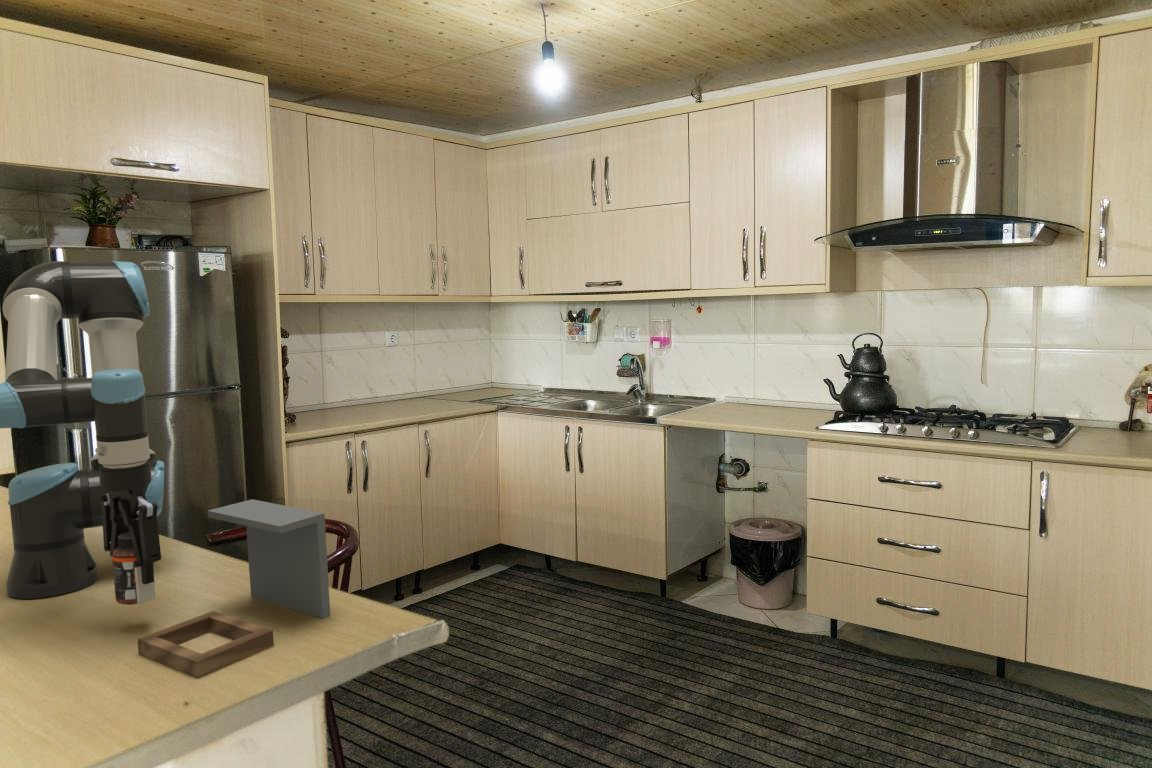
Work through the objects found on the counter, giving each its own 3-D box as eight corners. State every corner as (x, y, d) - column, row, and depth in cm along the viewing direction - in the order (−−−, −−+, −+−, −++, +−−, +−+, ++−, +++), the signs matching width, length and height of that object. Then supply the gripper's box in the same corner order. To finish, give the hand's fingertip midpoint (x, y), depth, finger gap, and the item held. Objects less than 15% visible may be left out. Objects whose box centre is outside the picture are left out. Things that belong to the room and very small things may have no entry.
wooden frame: (138, 653, 129) (137, 638, 128) (214, 625, 139) (213, 610, 139) (198, 678, 120) (196, 661, 120) (273, 645, 131) (272, 630, 130)
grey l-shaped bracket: (214, 610, 146) (207, 510, 144) (258, 594, 153) (252, 499, 151) (286, 633, 135) (280, 526, 133) (330, 615, 143) (324, 513, 140)
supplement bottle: (138, 607, 135) (133, 541, 134) (107, 604, 136) (101, 539, 135) (163, 593, 141) (158, 530, 139) (133, 591, 142) (128, 528, 141)
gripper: (71, 460, 137) (84, 592, 141) (133, 475, 127) (144, 617, 130) (117, 452, 144) (127, 579, 147) (178, 465, 133) (189, 601, 137)
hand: (135, 596), depth 139 cm, fingers closed on supplement bottle, 6 cm apart
